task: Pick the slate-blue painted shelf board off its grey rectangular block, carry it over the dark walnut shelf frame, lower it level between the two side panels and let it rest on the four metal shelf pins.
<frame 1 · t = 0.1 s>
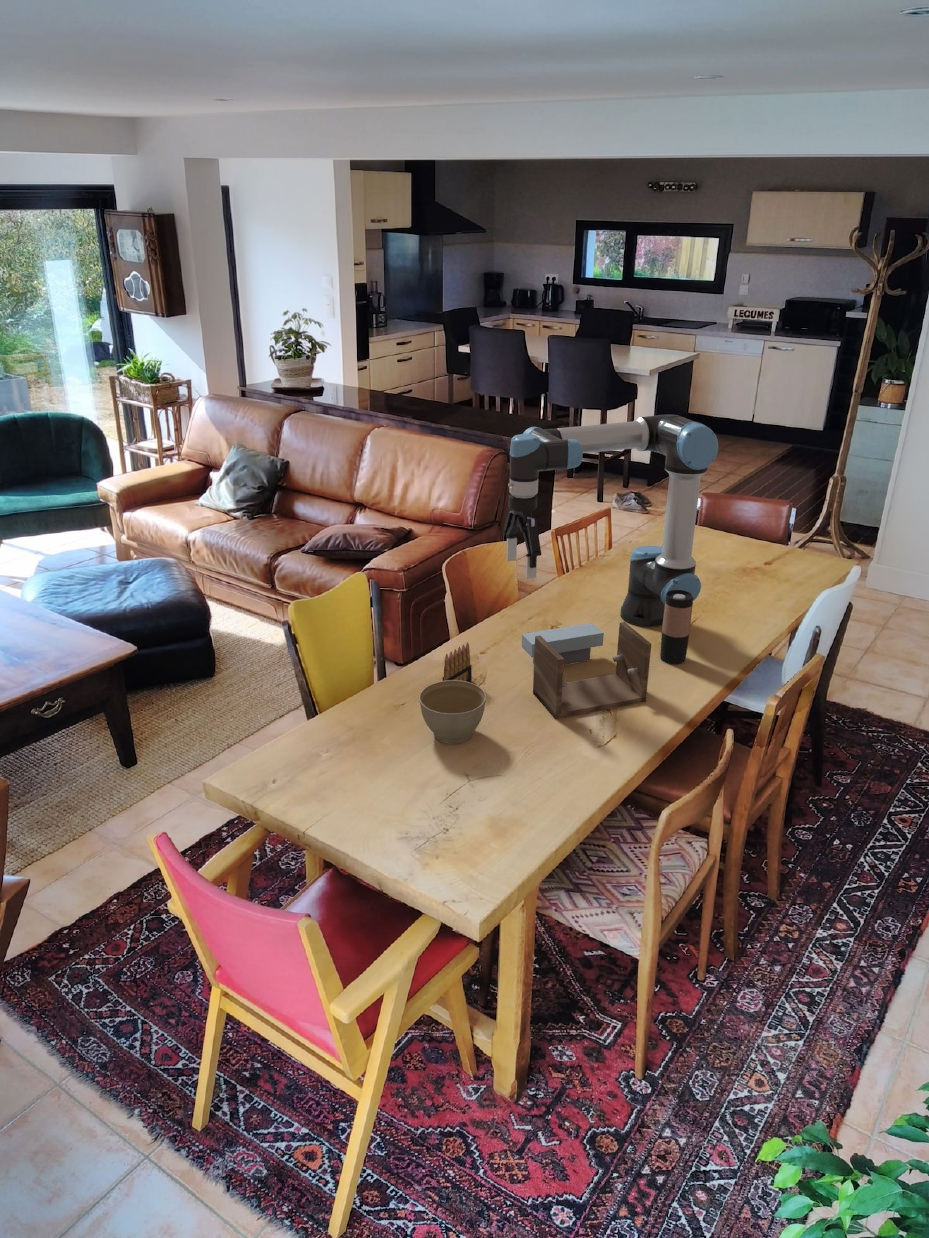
hand: (520, 569, 250), 28 cm above the table, tool pointing down, fingers open, 13 cm apart
shelf board: (562, 646, 258), point 5 cm above the table, touching grey rectangular block
grey rectangular block: (561, 661, 260), on the table
travel mug: (672, 659, 262), on the table
ammunition clip: (457, 688, 247), on the table
planter bowl: (452, 735, 225), on the table
shelf frame: (588, 697, 242), on the table
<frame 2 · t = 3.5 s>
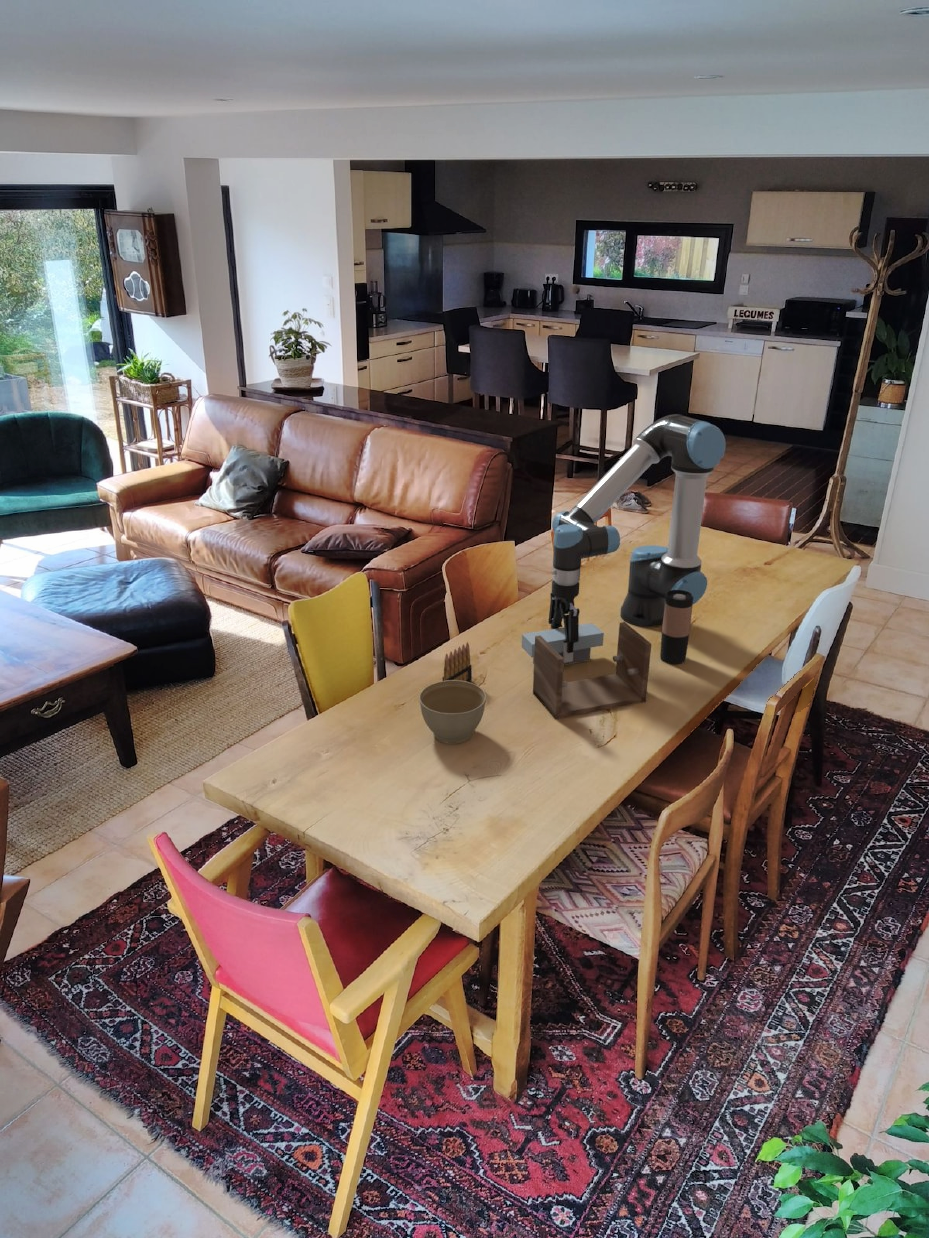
hand: (561, 655, 259), 2 cm above the table, tool pointing down, fingers closed on shelf board, 7 cm apart
shelf board: (562, 646, 258), point 5 cm above the table, touching grey rectangular block, gripper
everything else where it was.
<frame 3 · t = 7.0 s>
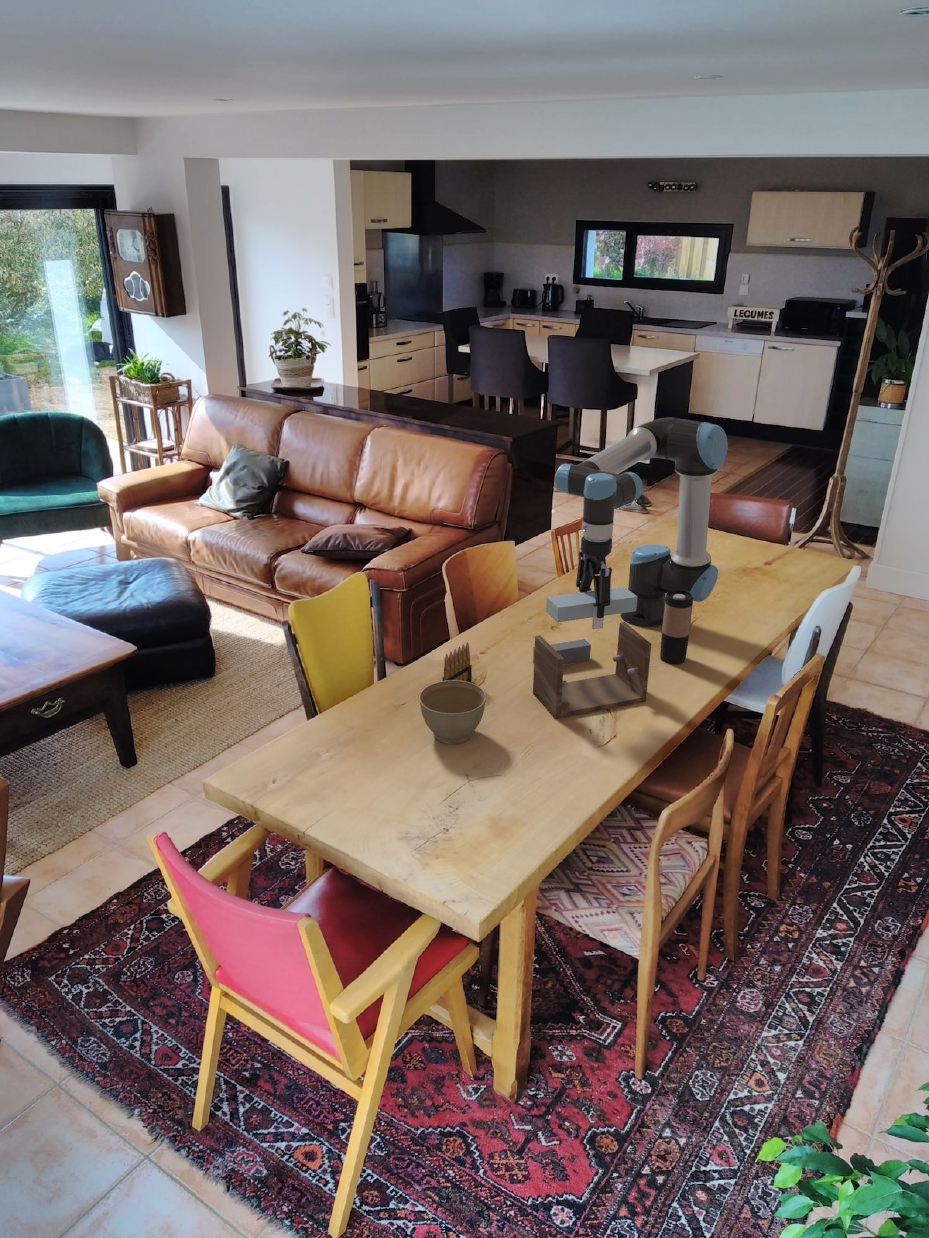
hand: (590, 621, 234), 22 cm above the table, tool pointing down, fingers closed on shelf board, 7 cm apart
shelf board: (591, 611, 233), point 24 cm above the table, touching gripper
everything else where it was.
when the fingers open (7 cm above the table, at t = 10.5 s): shelf board drops 2 cm, resting on shelf frame.
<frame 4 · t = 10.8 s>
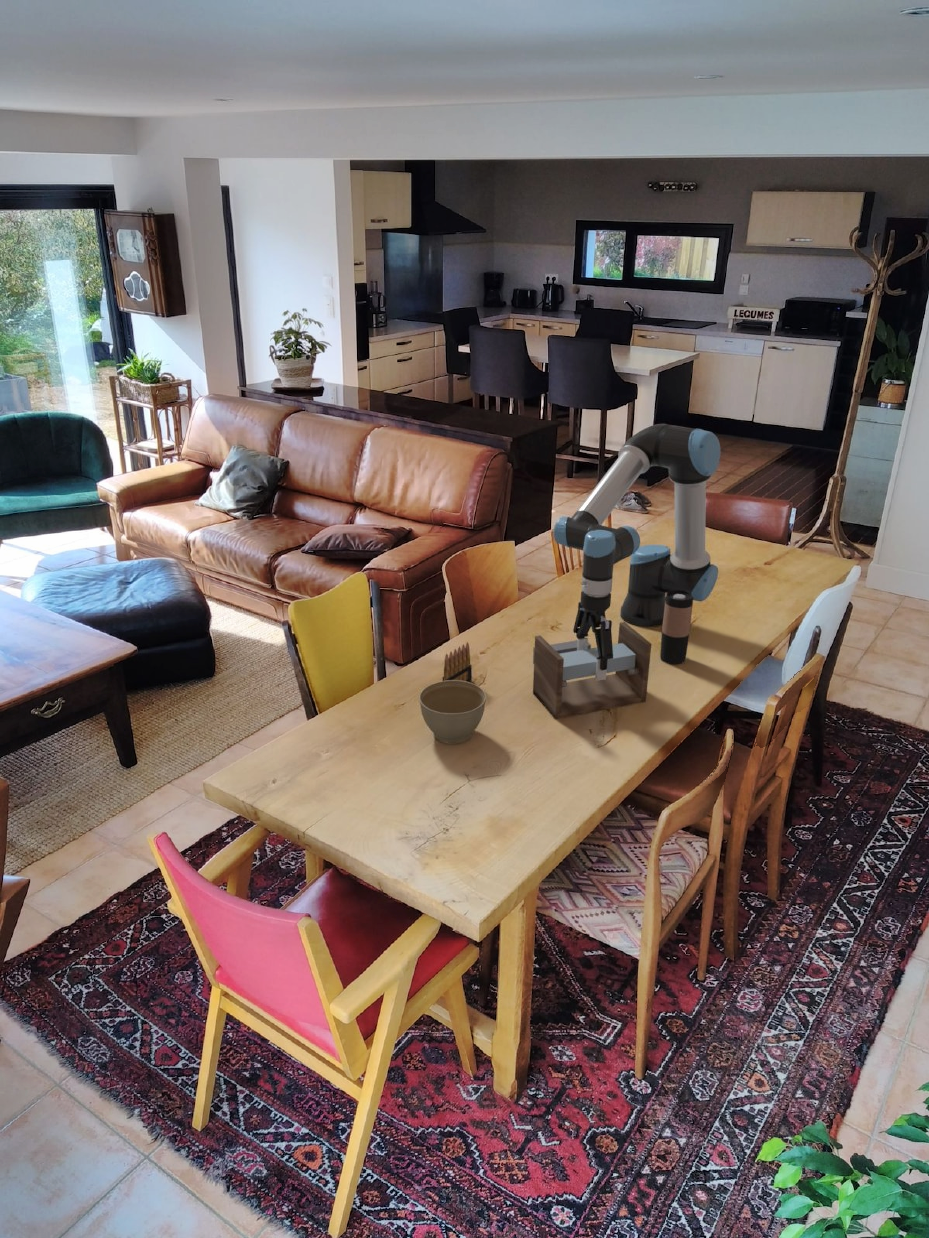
hand: (590, 669, 238), 8 cm above the table, tool pointing down, fingers open, 10 cm apart
shelf board: (590, 668, 238), point 9 cm above the table, touching shelf frame
everything else where it was.
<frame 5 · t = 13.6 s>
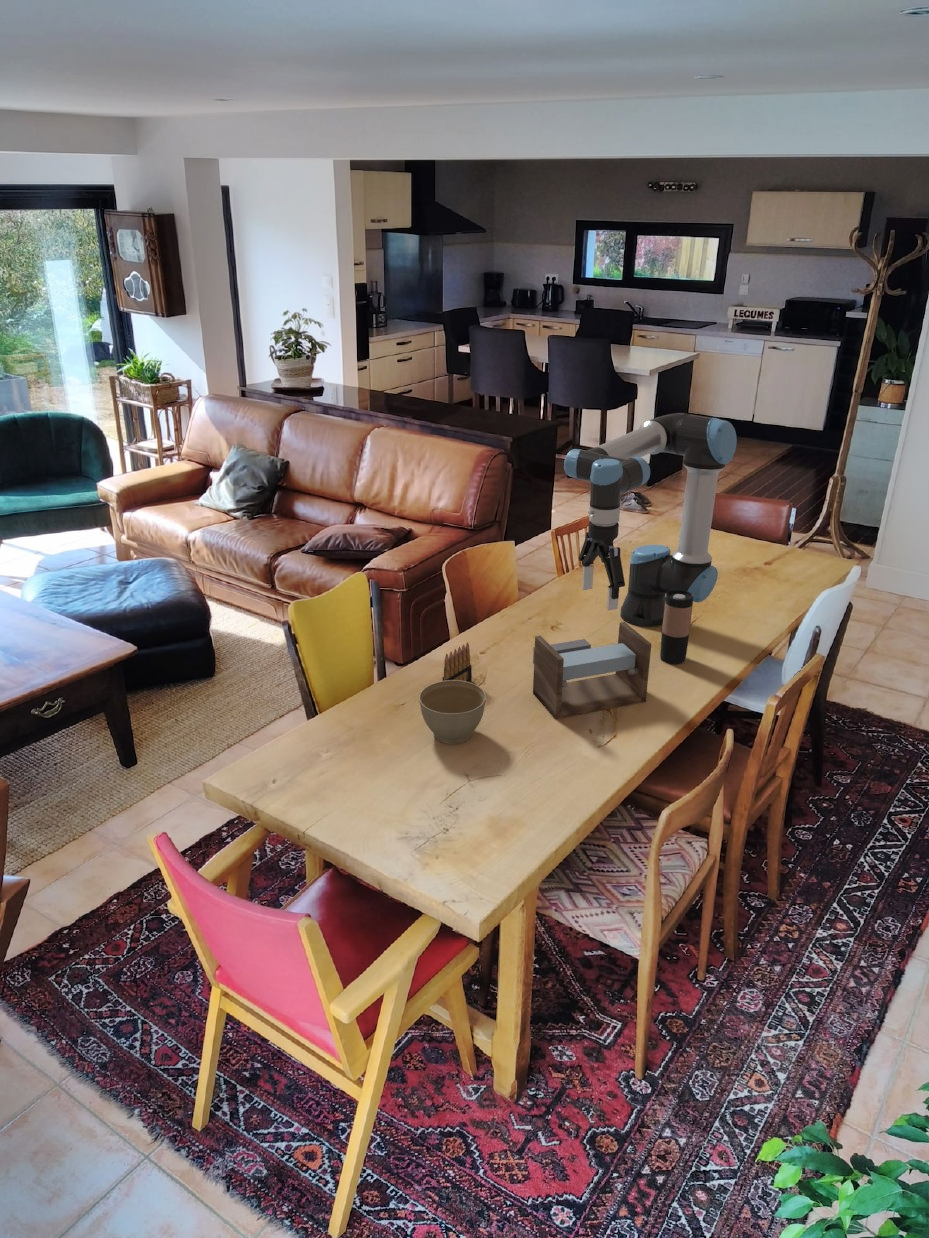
hand: (599, 598, 238), 25 cm above the table, tool pointing down, fingers open, 13 cm apart
nothing on the table moved.
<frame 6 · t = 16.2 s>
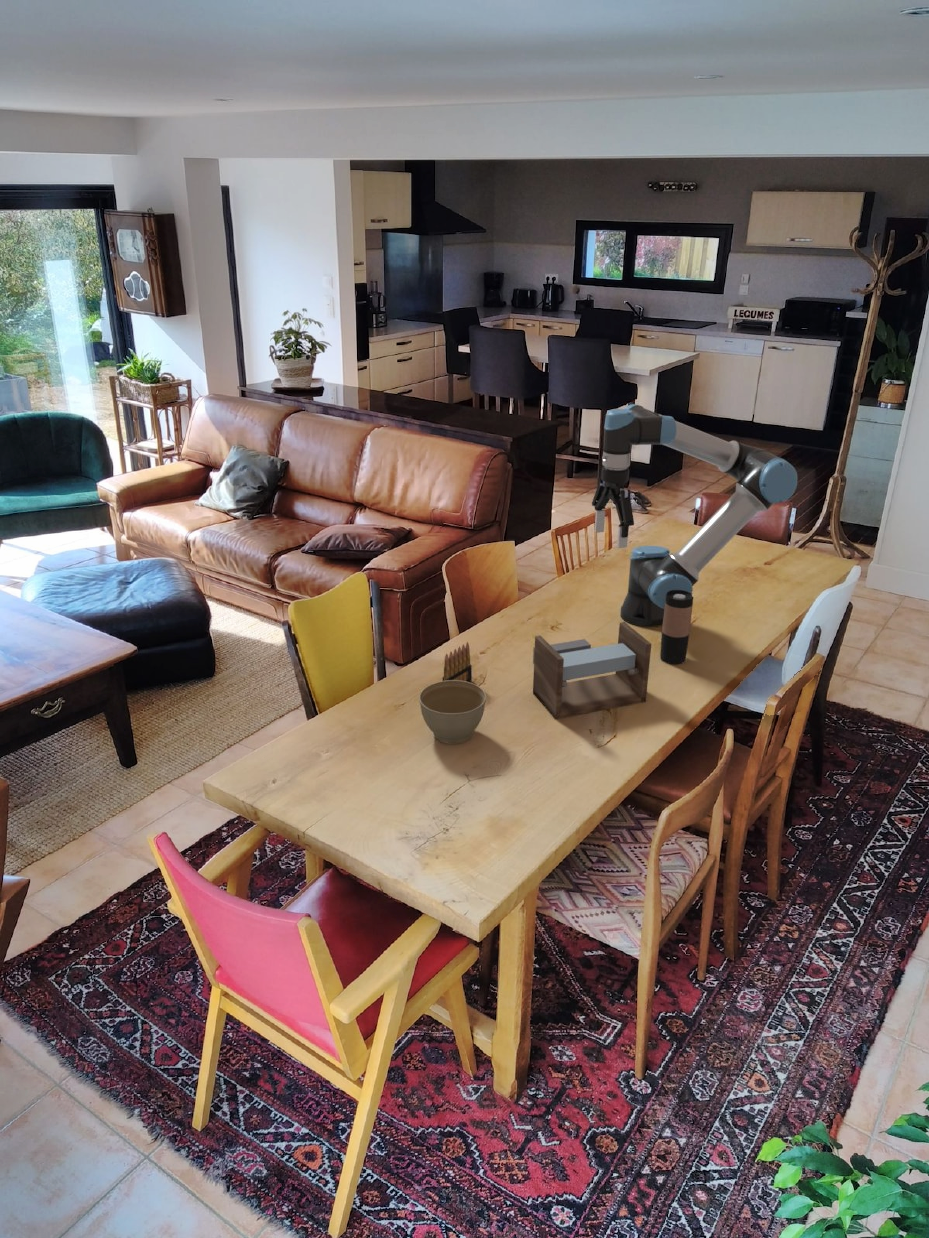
hand: (610, 539, 260), 32 cm above the table, tool pointing down, fingers open, 13 cm apart
nothing on the table moved.
at the end: shelf board 0.0 cm off-centre on the shelf frame, point 8.6 cm above the shelf frame's base; shelf board tilted 1°; the gripper is holding nothing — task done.
